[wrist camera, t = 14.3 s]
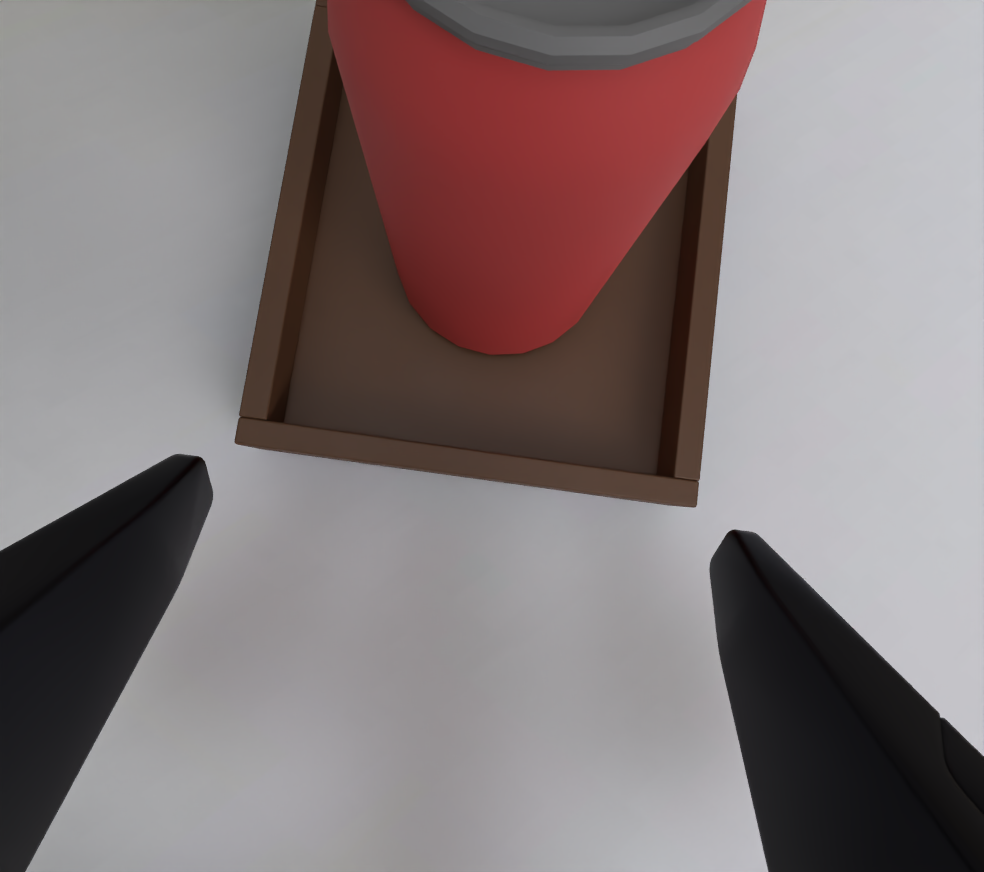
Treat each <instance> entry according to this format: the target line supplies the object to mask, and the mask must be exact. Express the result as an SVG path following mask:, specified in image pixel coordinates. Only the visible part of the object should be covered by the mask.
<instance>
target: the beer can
mask: <svg viewBox="0 0 984 872" xmlns="http://www.w3.org/2000/svg"><path fill="white" fill-rule="evenodd" d="M765 5H766V0H327V12H328V33H329V37H330V40H331V44H332V47H333V51H334V54H335V57H336V61H337V64H338V68H339V71H340V75H341V78H342V82H343V85H344V89H345V92H346V95H347V99H348V102H349V106H350V109H351V113H352V116H353V120H354V123H355V127H356V130H357V133H358V137H359V140H360V144H361V147H362V151H363V154H364V158H365V161H366V164H367V168H368V171H369V175H370V178H371V182H372V185H373V189H374V192H375V196H376V199H377V202H378V206H379V209H380V213H381V216H382V220H383V223H384V227H385V230H386V233H387V237H388V240H389V244H390V247H391V251H392V254H393V258H394V261H395V265H396V268H397V271H398V274H399V277H400V280H401V282H402V285H403V287H404V290H405V293H406V295H407V298H408V300H409V303H410V304H411V305H412V307H413V308H414V309H415V310H416V312H417V313H418V314H419V315H420V316H421V318H422V319H423V320H424V321H425V322H426V324H427V325H428V326H429V327H430V328H431V329H432V330H434V331H435V332H437V333H438V334H440V335H441V336H443V337H445V338H446V339H448V340H449V341H451V342H452V343H454V344H455V345H457V346H459V347H463V348H466V349H470V350H474V351H478V352H481V353H485V354H489V355H498V354H521V353H525V352H528V351H531V350H533V349H536V348H539V347H541V346H544V345H547V344H549V343H552V342H554V341H555V340H556V339H558V338H559V337H560V336H561V335H562V334H564V333H565V332H566V331H567V330H569V329H570V328H571V327H572V326H574V325H575V324H576V323H577V322H578V321H579V320H580V318H581V317H582V315H583V314H584V313H585V311H586V310H587V308H588V307H589V306H590V304H591V303H592V301H593V300H594V299H595V297H596V296H597V294H598V293H599V292H600V290H601V289H602V287H603V286H604V285H605V283H606V282H607V280H608V279H609V278H610V276H611V275H612V273H613V272H614V271H615V269H616V268H617V266H618V265H619V263H620V262H621V261H622V259H623V258H624V256H625V255H626V254H627V252H628V251H629V249H630V248H631V247H632V245H633V244H634V242H635V241H636V240H637V238H638V237H639V235H640V234H641V233H642V231H643V230H644V228H645V227H646V226H647V224H648V223H649V221H650V220H651V219H652V217H653V216H654V214H655V213H656V211H657V210H658V209H659V207H660V206H661V204H662V203H663V202H664V200H665V199H666V197H667V196H668V195H669V193H670V192H671V190H672V189H673V188H674V186H675V185H676V183H677V182H678V181H679V179H680V178H681V176H682V175H683V174H684V172H685V171H686V169H687V168H688V167H689V165H690V164H691V162H692V161H693V160H694V158H695V157H696V155H697V154H698V152H699V151H700V150H701V148H702V147H703V145H704V144H705V143H706V141H707V140H708V138H709V137H710V135H711V133H712V132H713V130H714V129H715V127H716V126H717V124H718V122H719V121H720V119H721V118H722V116H723V115H724V113H725V111H726V110H727V108H728V107H729V105H730V104H731V102H732V101H733V99H734V97H735V96H736V94H737V93H738V91H739V90H740V87H741V85H742V82H743V79H744V77H745V74H746V72H747V69H748V67H749V64H750V61H751V59H752V56H753V54H754V51H755V48H756V45H757V40H758V36H759V31H760V27H761V23H762V18H763V14H764V9H765Z"/></svg>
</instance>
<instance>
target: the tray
mask: <svg viewBox="0 0 984 872" xmlns="http://www.w3.org/2000/svg"><path fill="white" fill-rule="evenodd" d="M736 99H737V94H736V96H735V97H734V99H733V101H732V102H731V104H730V105H729V107H728V108H727V110H726V111H725V113H724V115H723V116H722V118H721V119H720V121H719V122H718V124H717V126H716V127H715V129H714V130H713V132H712V133H711V135H710V137H709V138H708V140H707V141H706V143H705V144H704V145H703V147H702V148H701V150H700V151H699V152H698V154H697V155H696V157H695V158H694V160H693V161H692V162H691V164H690V165H689V167H688V168H687V169H686V171H685V172H684V174H683V175H682V176H681V178H680V179H679V181H678V182H677V183H676V185H675V186H674V188H673V189H672V190H671V192H670V193H669V195H668V196H667V197H666V199H665V200H664V202H663V203H662V204H661V206H660V207H659V209H658V210H657V211H656V213H655V214H654V216H653V217H652V219H651V220H650V221H649V223H648V224H647V226H646V227H645V228H644V230H643V231H642V233H641V234H640V235H639V237H638V238H637V240H636V241H635V242H634V244H633V245H632V247H631V248H630V249H629V251H628V252H627V254H626V255H625V256H624V258H623V259H622V261H621V262H620V263H619V265H618V266H617V268H616V269H615V271H614V272H613V273H612V275H611V276H610V278H609V279H608V280H607V282H606V283H605V285H604V286H603V287H602V289H601V290H600V292H599V293H598V294H597V296H596V297H595V299H594V300H593V301H592V303H591V304H590V306H589V307H588V308H587V310H586V311H585V313H584V314H583V315H582V317H581V318H580V320H579V321H578V322H577V323H576V324H575V325H574V326H572V327H571V328H570V329H569V330H567V331H566V332H565V333H564V334H562V335H561V336H560V337H559V338H558V339H556V340H555V341H554V342H552V343H549V344H547V345H544V346H541V347H539V348H536V349H533V350H531V351H528V352H525V353H521V354H498V355H489V354H485V353H481V352H478V351H474V350H470V349H466V348H463V347H459V346H457V345H455V344H454V343H452V342H451V341H449V340H448V339H446V338H445V337H443V336H441V335H440V334H438V333H437V332H435V331H434V330H432V329H431V328H430V327H429V326H428V325H427V324H426V322H425V321H424V320H423V319H422V318H421V316H420V315H419V314H418V313H417V312H416V310H415V309H414V308H413V307H412V305H411V304H410V303H409V300H408V298H407V295H406V293H405V290H404V287H403V285H402V282H401V280H400V277H399V274H398V271H397V268H396V265H395V261H394V258H393V254H392V251H391V247H390V244H389V240H388V237H387V233H386V230H385V227H384V223H383V220H382V216H381V213H380V209H379V206H378V202H377V199H376V196H375V192H374V189H373V185H372V182H371V178H370V175H369V171H368V168H367V164H366V161H365V158H364V154H363V151H362V147H361V144H360V140H359V137H358V133H357V130H356V127H355V123H354V120H353V116H352V113H351V109H350V106H349V102H348V99H347V95H346V92H345V89H344V85H343V82H342V78H341V75H340V71H339V68H338V64H337V61H336V57H335V54H334V51H333V47H332V44H331V40H330V37H329V33H328V12H327V0H316V6H315V10H314V15H313V20H312V26H311V31H310V37H309V42H308V47H307V53H306V58H305V63H304V69H303V74H302V80H301V85H300V90H299V96H298V101H297V106H296V112H295V117H294V123H293V128H292V133H291V139H290V144H289V149H288V155H287V160H286V166H285V171H284V176H283V182H282V187H281V192H280V198H279V203H278V209H277V214H276V219H275V225H274V230H273V235H272V241H271V246H270V252H269V257H268V262H267V268H266V273H265V278H264V284H263V289H262V295H261V300H260V305H259V311H258V316H257V321H256V327H255V332H254V338H253V343H252V348H251V354H250V359H249V364H248V370H247V375H246V381H245V386H244V391H243V397H242V402H241V407H240V413H239V416H241V417H240V418H239V420H238V426H237V431H236V436H235V443H236V444H238V445H243V446H248V447H254V448H259V449H265V450H272V451H279V452H287V453H294V454H301V455H308V456H315V457H323V458H330V459H337V460H344V461H352V462H359V463H366V464H373V465H381V466H388V467H395V468H402V469H410V470H417V471H424V472H431V473H438V474H446V475H453V476H460V477H467V478H475V479H482V480H489V481H496V482H504V483H511V484H518V485H525V486H533V487H540V488H547V489H554V490H562V491H569V492H576V493H583V494H590V495H598V496H605V497H612V498H619V499H627V500H634V501H641V502H648V503H656V504H663V505H671V506H683V507H696V505H697V497H698V487H699V482H698V481H699V479H700V470H701V460H702V449H703V439H704V429H705V418H706V408H707V398H708V388H709V377H710V367H711V357H712V346H713V336H714V326H715V316H716V305H717V295H718V285H719V274H720V264H721V254H722V243H723V233H724V223H725V213H726V202H727V192H728V182H729V171H730V161H731V151H732V140H733V130H734V120H735V110H736Z"/></svg>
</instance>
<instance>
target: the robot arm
mask: <svg viewBox="0 0 984 872" xmlns="http://www.w3.org/2000/svg"><path fill="white" fill-rule="evenodd" d="M212 500H213V490H212V486H211V482H210V478H209V475H208V471H207V467H206V464H205V461H204V460H203V459H202V458H201V457H199V456H192V455H184V454H175V455H172V456H170V457H168V458H167V459H165V460H163V461H161V462H159V463H158V464H156V465H154V466H152V467H150V468H149V469H147V470H145V471H143V472H141V473H140V474H138V475H136V476H134V477H132V478H131V479H129V480H127V481H125V482H123V483H122V484H120V485H118V486H116V487H115V488H113V489H111V490H109V491H107V492H106V493H104V494H102V495H100V496H98V497H97V498H95V499H93V500H91V501H89V502H88V503H86V504H84V505H82V506H80V507H79V508H77V509H75V510H73V511H71V512H70V513H68V514H66V515H64V516H62V517H61V518H59V519H57V520H55V521H53V522H52V523H50V524H48V525H46V526H44V527H43V528H41V529H39V530H37V531H35V532H34V533H32V534H30V535H28V536H26V537H25V538H23V539H21V540H19V541H17V542H16V543H14V544H12V545H10V546H8V547H7V548H5V549H3V550H1V551H0V872H25V871H26V869H27V868H28V866H29V864H30V862H31V860H32V858H33V856H34V855H35V853H36V851H37V849H38V847H39V845H40V843H41V842H42V840H43V838H44V836H45V834H46V832H47V830H48V829H49V827H50V825H51V823H52V821H53V819H54V817H55V816H56V814H57V812H58V810H59V808H60V806H61V804H62V803H63V801H64V799H65V797H66V795H67V793H68V791H69V790H70V788H71V786H72V784H73V782H74V780H75V778H76V777H77V775H78V773H79V771H80V769H81V767H82V765H83V764H84V762H85V760H86V758H87V756H88V754H89V752H90V751H91V749H92V747H93V745H94V743H95V741H96V739H97V738H98V736H99V734H100V732H101V730H102V728H103V726H104V725H105V723H106V721H107V719H108V717H109V715H110V713H111V711H112V710H113V708H114V706H115V704H116V702H117V700H118V698H119V697H120V695H121V693H122V691H123V689H124V687H125V685H126V684H127V682H128V680H129V678H130V676H131V674H132V672H133V671H134V669H135V667H136V665H137V663H138V661H139V659H140V658H141V656H142V654H143V652H144V650H145V648H146V646H147V645H148V643H149V641H150V639H151V637H152V635H153V633H154V632H155V630H156V628H157V626H158V624H159V622H160V620H161V619H162V617H163V615H164V613H165V611H166V609H167V607H168V606H169V604H170V602H171V600H172V598H173V596H174V594H175V592H176V590H177V588H178V586H179V584H180V582H181V579H182V577H183V575H184V572H185V570H186V568H187V565H188V562H189V560H190V557H191V555H192V552H193V550H194V547H195V545H196V542H197V540H198V537H199V535H200V532H201V530H202V527H203V525H204V522H205V520H206V517H207V515H208V512H209V510H210V507H211V504H212ZM710 579H711V588H712V597H713V606H714V615H715V624H716V633H717V641H718V648H719V654H720V659H721V664H722V669H723V673H724V678H725V682H726V687H727V691H728V695H729V700H730V704H731V709H732V713H733V717H734V722H735V726H736V731H737V735H738V740H739V744H740V748H741V753H742V757H743V762H744V766H745V770H746V775H747V779H748V784H749V788H750V792H751V797H752V801H753V806H754V810H755V814H756V819H757V823H758V828H759V832H760V836H761V841H762V845H763V850H764V854H765V858H766V863H767V867H768V872H984V756H983V755H982V754H981V753H980V752H979V751H978V750H977V749H975V748H974V747H973V746H972V745H971V744H970V743H969V742H968V741H967V740H966V739H965V738H964V737H963V736H962V735H961V734H960V733H959V732H958V731H957V730H956V729H955V728H954V727H953V726H952V725H951V724H950V723H949V722H948V721H947V720H946V719H945V718H940V714H939V713H938V711H937V710H936V709H934V708H933V707H932V706H931V705H930V704H929V703H928V702H927V701H926V700H925V699H924V698H923V697H922V696H921V695H920V694H919V693H918V692H917V691H916V690H915V689H914V688H913V687H912V686H911V685H910V684H909V683H908V682H907V681H906V680H905V679H904V678H903V677H902V676H901V675H900V674H899V673H898V672H897V671H896V670H895V669H894V668H893V667H892V666H891V665H890V664H889V663H888V662H887V661H886V660H885V659H884V658H883V657H882V656H881V655H880V654H879V653H878V652H877V651H876V650H875V649H874V648H873V647H872V646H871V645H870V644H869V643H868V642H866V641H865V640H864V639H863V638H862V637H861V636H860V635H859V634H858V633H857V632H856V631H855V630H854V629H853V628H852V627H851V626H850V625H849V624H848V623H847V622H846V621H845V620H844V619H843V618H842V617H841V616H840V615H839V614H838V613H837V612H836V611H835V610H834V609H833V608H832V607H831V606H830V605H829V604H828V603H827V602H826V601H825V600H824V599H823V598H822V597H821V596H820V595H819V594H818V593H817V592H816V591H815V590H814V589H813V588H812V587H811V586H810V585H809V584H808V583H807V582H806V581H805V580H804V579H803V578H802V577H801V576H800V575H798V574H797V573H796V572H795V571H794V570H793V569H792V568H791V567H790V566H789V565H788V564H787V563H786V562H785V561H784V560H783V559H782V558H781V557H780V556H779V555H778V554H777V553H776V552H775V551H774V550H773V549H772V548H771V547H770V546H769V545H768V544H767V543H766V542H765V541H764V540H763V539H762V538H761V537H760V536H759V535H757V534H756V533H754V532H749V531H741V530H731V531H730V532H728V533H727V535H726V536H725V538H724V539H723V541H722V542H721V544H720V546H719V547H718V549H717V550H716V552H715V554H714V555H713V557H712V559H711V562H710Z"/></svg>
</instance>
